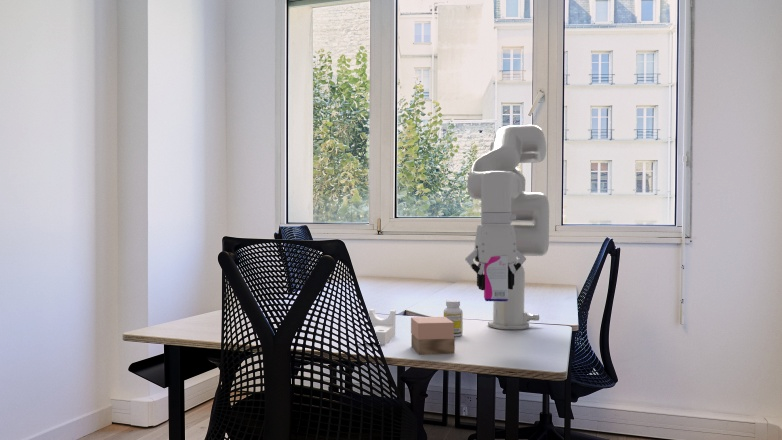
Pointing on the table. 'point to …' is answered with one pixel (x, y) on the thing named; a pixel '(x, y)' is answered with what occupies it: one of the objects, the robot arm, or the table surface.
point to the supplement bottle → (454, 315)
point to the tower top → (432, 328)
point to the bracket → (383, 326)
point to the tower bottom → (433, 346)
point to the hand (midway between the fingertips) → (495, 288)
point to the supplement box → (496, 279)
